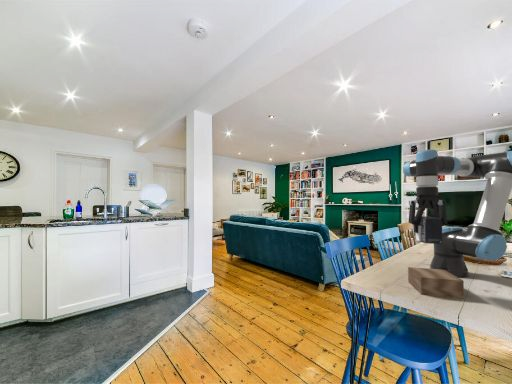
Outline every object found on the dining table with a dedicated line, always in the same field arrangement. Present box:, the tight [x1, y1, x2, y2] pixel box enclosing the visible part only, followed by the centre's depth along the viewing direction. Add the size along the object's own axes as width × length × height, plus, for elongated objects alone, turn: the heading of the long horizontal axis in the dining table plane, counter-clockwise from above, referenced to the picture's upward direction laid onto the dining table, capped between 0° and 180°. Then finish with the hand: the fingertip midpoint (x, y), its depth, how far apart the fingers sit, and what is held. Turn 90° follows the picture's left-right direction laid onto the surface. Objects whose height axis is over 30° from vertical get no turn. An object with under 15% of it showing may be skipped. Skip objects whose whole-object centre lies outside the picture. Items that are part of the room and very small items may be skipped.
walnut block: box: [407, 266, 465, 299], centre depth 97 cm, size 14×14×7 cm
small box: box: [414, 215, 443, 245], centre depth 99 cm, size 11×6×10 cm, turn 167°
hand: (427, 240), depth 99 cm, fingers closed on small box, 7 cm apart
